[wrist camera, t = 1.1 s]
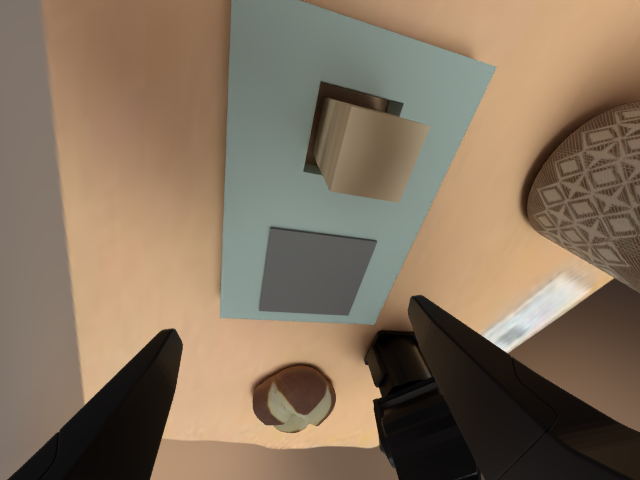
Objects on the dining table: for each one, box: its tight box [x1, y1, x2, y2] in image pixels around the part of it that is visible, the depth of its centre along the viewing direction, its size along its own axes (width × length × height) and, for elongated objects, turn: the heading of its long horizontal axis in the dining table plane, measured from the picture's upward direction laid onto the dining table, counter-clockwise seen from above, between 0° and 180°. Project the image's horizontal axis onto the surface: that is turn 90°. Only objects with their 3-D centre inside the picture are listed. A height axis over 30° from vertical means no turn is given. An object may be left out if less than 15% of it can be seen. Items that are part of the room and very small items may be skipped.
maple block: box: [313, 97, 430, 203], centre depth 16 cm, size 4×4×8 cm
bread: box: [253, 366, 336, 433], centre depth 35 cm, size 11×11×5 cm
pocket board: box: [220, 0, 496, 325], centre depth 21 cm, size 16×24×3 cm, turn 167°
